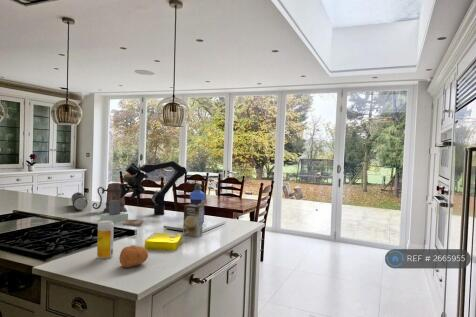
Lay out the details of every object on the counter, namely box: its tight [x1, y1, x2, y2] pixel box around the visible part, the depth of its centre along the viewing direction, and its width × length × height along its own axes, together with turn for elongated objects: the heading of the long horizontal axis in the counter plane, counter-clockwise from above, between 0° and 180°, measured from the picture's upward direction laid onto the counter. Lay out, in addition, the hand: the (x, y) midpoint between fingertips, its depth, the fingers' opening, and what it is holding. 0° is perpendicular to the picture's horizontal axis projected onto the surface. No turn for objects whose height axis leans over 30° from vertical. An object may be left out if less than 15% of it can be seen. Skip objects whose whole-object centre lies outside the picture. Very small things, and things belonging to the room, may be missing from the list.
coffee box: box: [182, 203, 204, 238], centre depth 176 cm, size 9×6×16 cm
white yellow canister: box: [96, 220, 115, 260], centre depth 136 cm, size 6×6×15 cm
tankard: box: [92, 182, 128, 214], centre depth 232 cm, size 24×17×20 cm
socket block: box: [99, 212, 129, 223], centre depth 204 cm, size 12×11×4 cm
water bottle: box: [189, 183, 206, 224], centre depth 203 cm, size 9×9×25 cm
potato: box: [118, 244, 149, 268], centre depth 128 cm, size 9×11×8 cm
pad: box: [122, 219, 144, 227], centre depth 196 cm, size 10×10×2 cm
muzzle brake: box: [71, 192, 88, 211], centre depth 241 cm, size 10×28×10 cm, turn 30°
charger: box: [109, 200, 120, 215], centre depth 204 cm, size 5×4×12 cm
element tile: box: [144, 232, 183, 252], centre depth 155 cm, size 15×15×5 cm
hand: (125, 198), depth 210 cm, fingers open, 9 cm apart
